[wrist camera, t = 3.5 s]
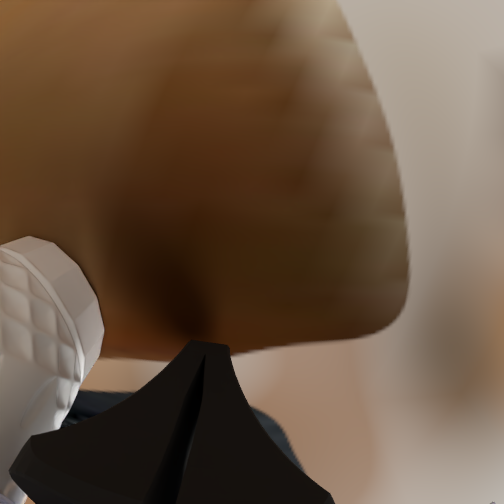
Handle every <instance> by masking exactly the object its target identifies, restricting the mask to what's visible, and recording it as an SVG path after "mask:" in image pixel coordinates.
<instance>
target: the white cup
mask: <svg viewBox="0 0 504 504" xmlns="http://www.w3.org/2000/svg"><path fill="white" fill-rule="evenodd" d="M103 335H104V325H103V321H102V317H101V313H100V308H99V304H98V299H97V296H96V295H95V293H94V291H93V290H92V288H91V286H90V285H89V283H88V281H87V279H86V278H85V276H84V274H83V272H82V271H81V269H80V267H79V266H78V264H77V263H75V262H74V261H73V260H72V259H71V258H70V257H69V256H67V255H66V254H65V253H64V252H63V251H62V250H61V249H60V248H59V247H58V246H57V245H56V244H54V243H53V242H49V241H45V240H42V239H38V238H35V237H31V236H26V237H23V238H20V239H17V240H14V241H11V242H8V243H5V244H2V245H0V493H2V494H3V495H4V496H6V497H7V498H9V499H10V500H12V501H13V502H15V503H16V504H25V501H26V499H27V497H28V496H27V495H26V494H25V493H24V492H23V491H22V490H21V489H20V488H19V487H18V485H17V484H16V483H15V482H14V481H13V480H12V478H11V476H10V474H9V471H8V470H9V469H10V467H11V465H12V464H13V462H14V460H15V459H16V457H17V455H18V454H19V452H20V450H21V449H22V447H23V446H24V444H25V443H26V442H27V440H28V439H29V438H30V437H31V435H36V434H41V433H45V432H49V431H53V430H57V429H60V426H61V424H62V421H63V420H64V418H65V417H66V415H67V413H68V412H69V410H70V408H71V407H72V404H73V402H74V400H75V398H76V395H77V393H78V390H79V387H80V385H81V384H82V382H83V381H84V379H85V378H86V376H87V374H88V373H89V371H90V370H91V368H92V366H93V365H94V363H95V362H96V360H97V359H98V357H99V355H100V350H101V345H102V340H103Z"/></svg>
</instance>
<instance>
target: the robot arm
mask: <svg viewBox="0 0 504 504" xmlns="http://www.w3.org/2000/svg"><path fill="white" fill-rule="evenodd" d="M8 471H9V474H10V476H11V478H12V480H13V481H14V482H15V483H16V484H17V485H18V487H19V488H20V489H21V490H22V491H23V492H24V493H25V494H26V495H27V496H28V497H29V498H30V499H31V500H32V501H33V502H35V504H335V503H334V500H333V498H332V496H331V494H330V493H329V492H327V491H326V490H325V489H323V488H322V487H321V486H319V485H318V484H317V483H316V482H314V481H313V480H312V479H311V478H309V477H308V476H307V475H306V474H305V473H304V472H302V471H301V470H300V469H299V468H298V467H297V466H296V465H295V464H294V463H293V462H292V461H291V460H290V459H289V458H288V457H287V456H286V455H285V454H284V453H283V451H282V450H281V449H280V448H279V447H278V446H277V445H276V443H275V442H274V441H273V440H272V439H271V438H270V436H269V435H268V433H267V432H266V431H265V429H264V428H263V427H262V425H261V424H260V422H259V421H258V419H257V418H256V416H255V414H254V413H253V411H252V409H251V407H250V406H249V404H248V402H247V400H246V398H245V396H244V394H243V392H242V390H241V387H240V385H239V383H238V380H237V377H236V375H235V372H234V369H233V365H232V361H231V357H230V348H229V347H228V346H227V345H224V344H216V343H209V342H203V341H196V340H191V341H189V342H188V343H187V344H186V346H185V347H184V348H183V349H182V350H181V352H180V353H179V354H178V355H177V356H176V357H175V358H174V359H173V360H172V361H171V362H170V363H169V364H168V365H167V366H166V367H165V368H164V369H163V370H162V371H161V372H160V373H159V374H158V375H157V376H155V377H154V378H153V379H152V380H151V381H149V382H148V383H147V384H146V385H145V386H143V387H142V388H141V389H139V390H138V391H137V392H135V393H134V394H132V395H131V396H129V397H128V398H126V399H125V400H123V401H122V402H120V403H118V404H117V405H115V406H113V407H111V408H109V409H108V410H106V411H104V412H102V413H100V414H98V415H96V416H94V417H91V418H89V419H86V420H84V421H81V422H79V423H76V424H74V425H71V426H68V427H65V428H61V429H57V430H53V431H49V432H45V433H41V434H36V435H31V437H30V438H29V439H28V440H27V442H26V443H25V444H24V446H23V447H22V449H21V450H20V452H19V454H18V455H17V457H16V459H15V460H14V462H13V464H12V465H11V467H10V469H9V470H8ZM0 504H16V503H15V502H13V501H12V500H10V499H9V498H7V497H6V496H4V495H3V494H2V493H0ZM490 504H495V502H492V503H490Z"/></svg>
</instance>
